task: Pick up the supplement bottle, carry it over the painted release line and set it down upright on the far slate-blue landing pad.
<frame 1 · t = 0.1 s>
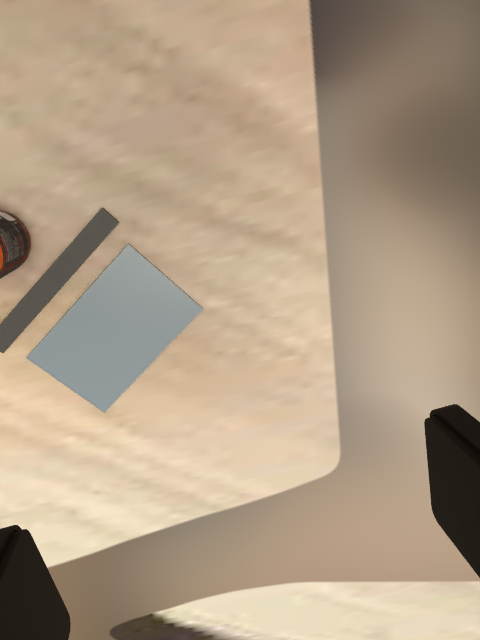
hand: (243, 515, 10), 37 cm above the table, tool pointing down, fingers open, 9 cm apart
release line: (51, 282, 44), on the table
landing pad: (115, 332, 47), on the table
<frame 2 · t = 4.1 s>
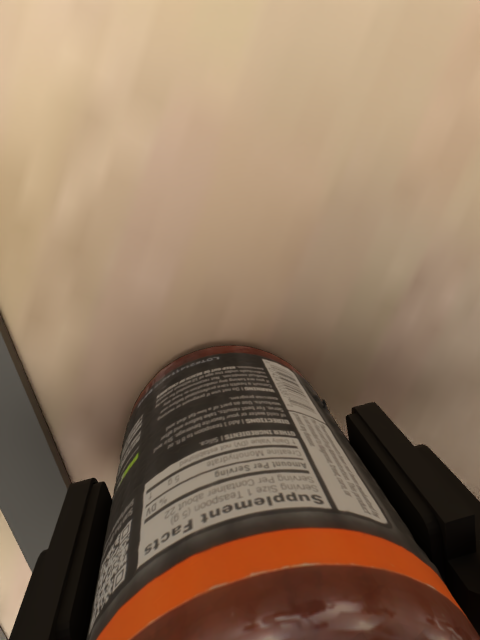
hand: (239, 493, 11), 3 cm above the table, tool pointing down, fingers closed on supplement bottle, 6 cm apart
release line: (32, 478, 13), on the table
supplement bottle: (224, 423, 14), on the table, touching gripper
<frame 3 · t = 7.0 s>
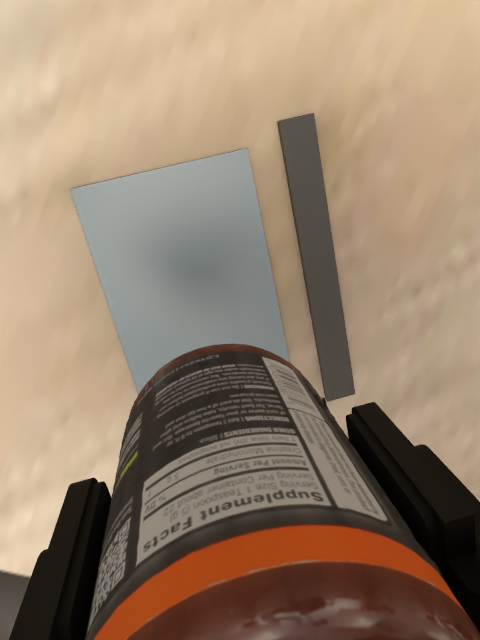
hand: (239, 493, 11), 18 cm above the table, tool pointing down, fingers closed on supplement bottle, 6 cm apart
release line: (319, 271, 28), on the table
supplement bottle: (224, 421, 14), point 14 cm above the table, touching gripper
landing pad: (195, 302, 27), on the table
when the fingers open (5 cm above the table, at t = 10.2 s): supplement bottle drops 1 cm, resting on landing pad.
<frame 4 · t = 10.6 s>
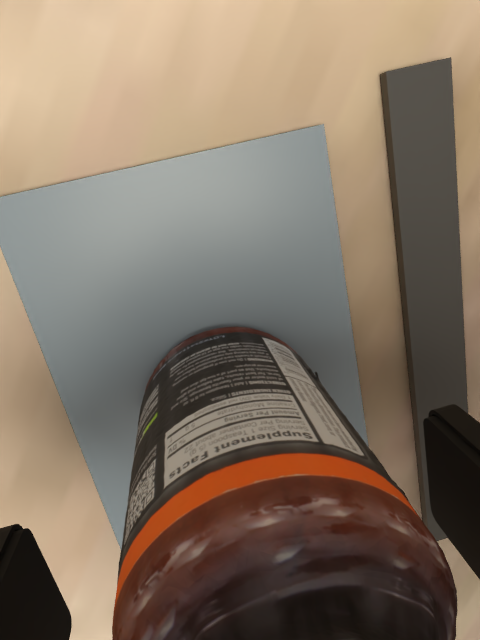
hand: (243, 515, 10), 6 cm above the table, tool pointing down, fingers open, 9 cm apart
release line: (432, 341, 16), on the table
supplement bottle: (228, 398, 16), resting on landing pad
landing pad: (219, 397, 16), on the table
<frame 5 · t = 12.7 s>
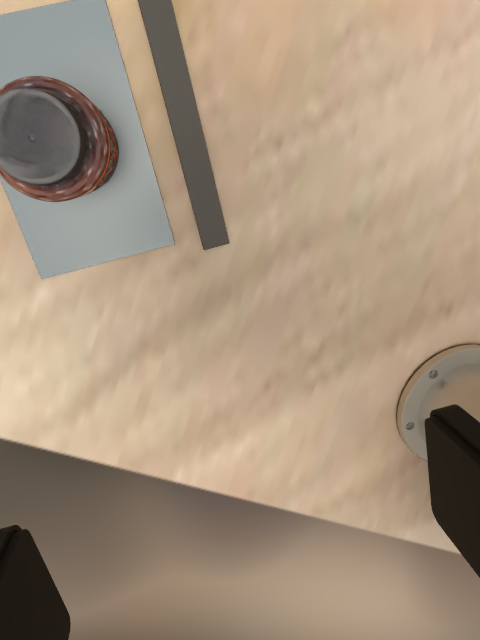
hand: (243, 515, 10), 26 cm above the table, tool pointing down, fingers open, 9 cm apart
release line: (184, 120, 31), on the table
supplement bottle: (75, 148, 30), resting on landing pad
landing pad: (70, 148, 30), on the table
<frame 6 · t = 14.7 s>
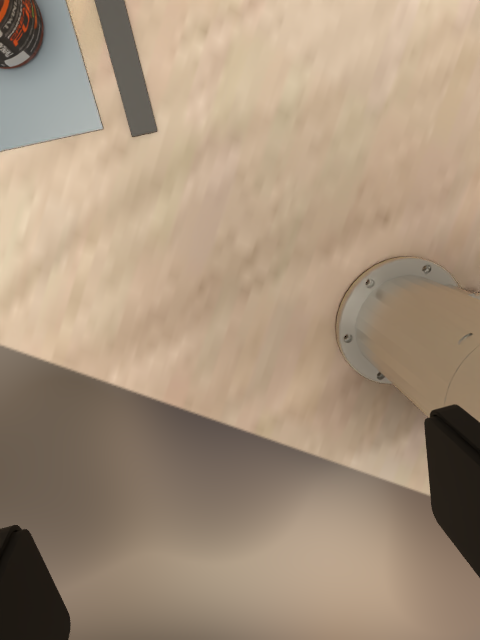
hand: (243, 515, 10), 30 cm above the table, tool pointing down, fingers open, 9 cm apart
release line: (110, 2, 32), on the table
supplement bottle: (3, 24, 31), resting on landing pad
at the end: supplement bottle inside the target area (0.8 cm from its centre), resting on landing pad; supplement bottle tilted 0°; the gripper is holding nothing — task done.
